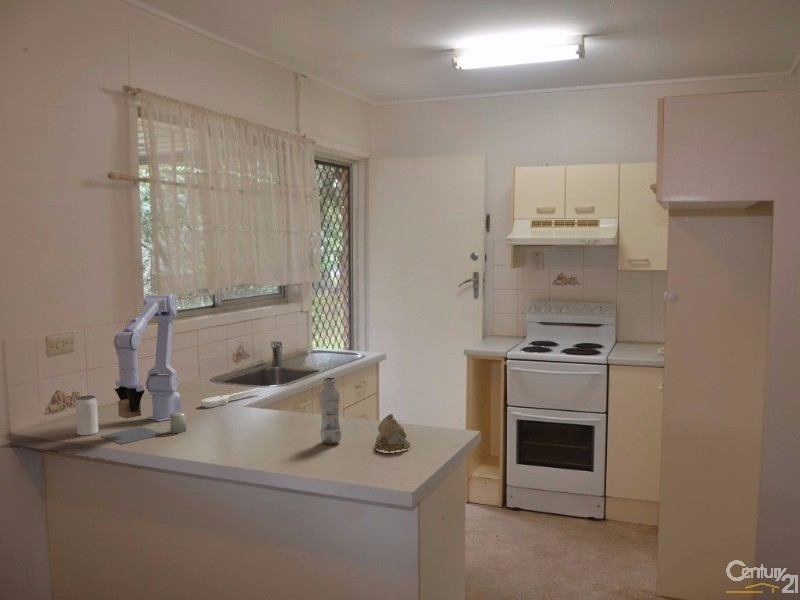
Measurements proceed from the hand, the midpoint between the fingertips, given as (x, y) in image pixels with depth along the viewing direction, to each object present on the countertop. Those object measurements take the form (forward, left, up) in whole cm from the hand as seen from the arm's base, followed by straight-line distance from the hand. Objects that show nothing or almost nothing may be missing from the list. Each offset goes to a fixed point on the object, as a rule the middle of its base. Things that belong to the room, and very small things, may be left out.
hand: (130, 410), depth 222 cm
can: (+8, -14, -9) cm, 18 cm away
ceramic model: (-44, +74, -9) cm, 86 cm away
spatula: (-49, -14, -9) cm, 51 cm away
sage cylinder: (-12, +8, -8) cm, 17 cm away
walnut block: (0, 0, -2) cm, 2 cm away
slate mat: (0, 0, -8) cm, 8 cm away
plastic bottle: (-35, +57, -8) cm, 67 cm away
